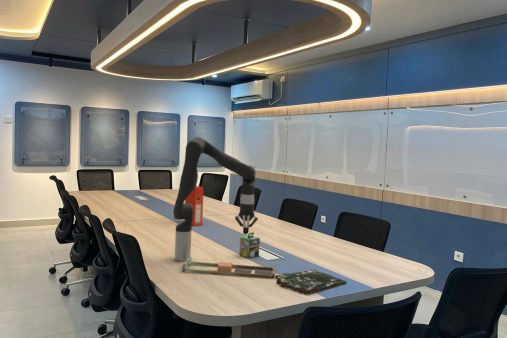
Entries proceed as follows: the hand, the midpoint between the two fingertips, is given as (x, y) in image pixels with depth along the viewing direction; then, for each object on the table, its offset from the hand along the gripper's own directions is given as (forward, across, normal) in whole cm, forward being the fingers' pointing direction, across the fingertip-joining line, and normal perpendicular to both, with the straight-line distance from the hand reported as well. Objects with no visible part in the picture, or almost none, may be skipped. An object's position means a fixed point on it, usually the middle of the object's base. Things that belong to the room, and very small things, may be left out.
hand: (245, 234), depth 216 cm
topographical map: (+22, -34, +8) cm, 41 cm away
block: (+21, +10, 0) cm, 24 cm away
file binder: (+21, +55, -116) cm, 130 cm away
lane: (+21, +8, 0) cm, 22 cm away
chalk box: (+21, 0, -33) cm, 39 cm away
